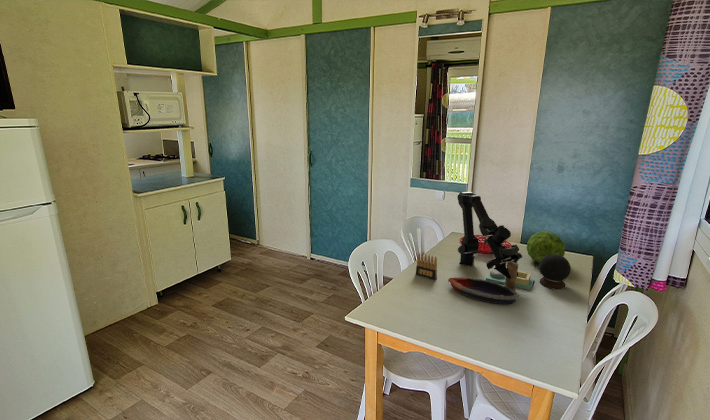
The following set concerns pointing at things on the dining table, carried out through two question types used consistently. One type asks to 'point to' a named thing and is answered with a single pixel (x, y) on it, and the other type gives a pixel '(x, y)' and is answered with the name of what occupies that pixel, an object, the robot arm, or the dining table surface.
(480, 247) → the bowl
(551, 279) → the black ball on stand
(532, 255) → the lettuce
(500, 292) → the dish
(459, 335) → the dining table surface
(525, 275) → the carrier plate
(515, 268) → the walnut dowel
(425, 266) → the ammunition clip
